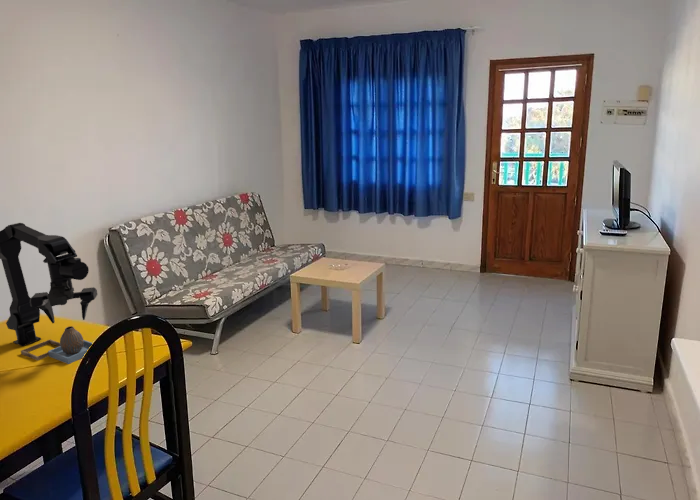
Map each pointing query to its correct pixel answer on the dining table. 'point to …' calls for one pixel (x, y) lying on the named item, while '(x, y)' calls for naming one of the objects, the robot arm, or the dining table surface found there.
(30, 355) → the walnut frame
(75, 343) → the vase
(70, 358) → the slate tray
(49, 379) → the dining table surface
